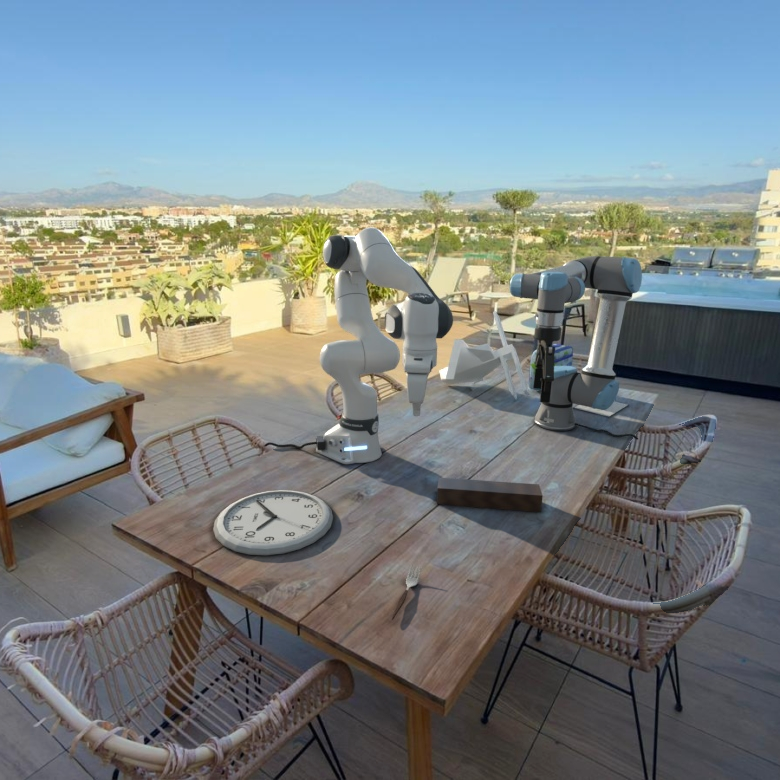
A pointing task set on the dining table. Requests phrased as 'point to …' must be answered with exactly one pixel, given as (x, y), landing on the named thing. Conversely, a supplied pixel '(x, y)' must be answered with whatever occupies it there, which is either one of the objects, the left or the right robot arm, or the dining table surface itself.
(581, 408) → the invitation card
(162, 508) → the dining table surface
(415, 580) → the fork
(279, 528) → the wall clock
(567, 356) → the lunch box
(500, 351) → the white plastic object
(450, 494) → the walnut beam
